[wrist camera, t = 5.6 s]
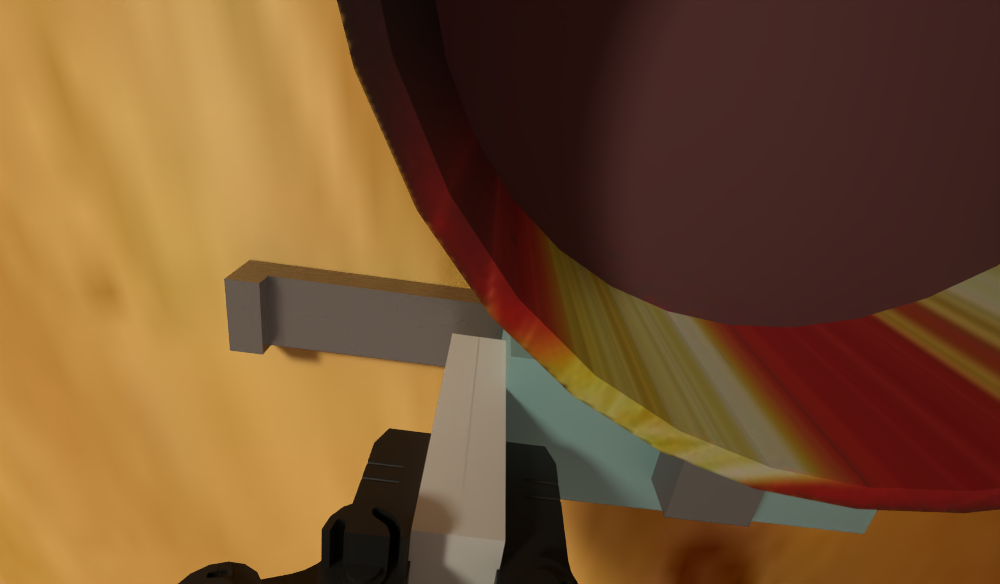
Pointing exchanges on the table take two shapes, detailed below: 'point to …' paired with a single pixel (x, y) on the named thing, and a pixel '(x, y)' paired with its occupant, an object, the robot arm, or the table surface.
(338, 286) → the rail
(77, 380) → the table surface
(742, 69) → the mug
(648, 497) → the latch block
